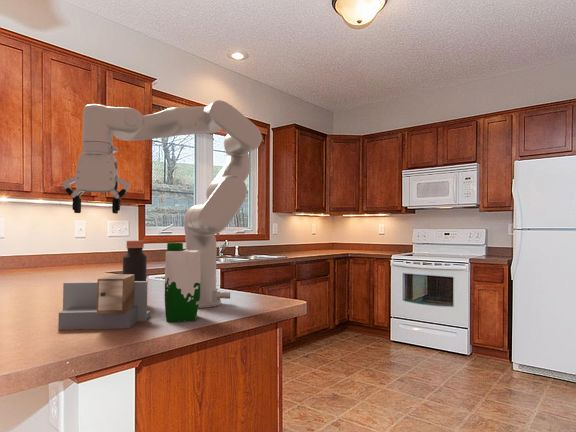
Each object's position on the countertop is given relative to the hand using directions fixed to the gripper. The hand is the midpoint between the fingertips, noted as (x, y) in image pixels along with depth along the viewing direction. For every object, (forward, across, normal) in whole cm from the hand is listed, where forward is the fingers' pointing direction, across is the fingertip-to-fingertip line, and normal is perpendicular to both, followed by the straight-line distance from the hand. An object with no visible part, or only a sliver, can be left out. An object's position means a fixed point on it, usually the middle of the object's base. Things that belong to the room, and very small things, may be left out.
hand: (96, 213), depth 107 cm
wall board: (+28, -5, +8) cm, 30 cm away
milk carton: (+28, -24, +7) cm, 37 cm away
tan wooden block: (+24, -9, +12) cm, 28 cm away
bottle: (+28, -7, -13) cm, 32 cm away
